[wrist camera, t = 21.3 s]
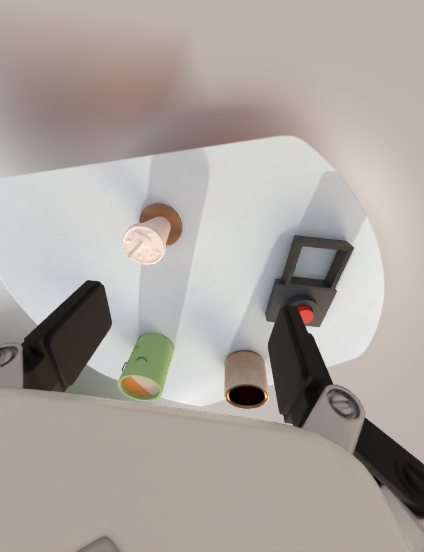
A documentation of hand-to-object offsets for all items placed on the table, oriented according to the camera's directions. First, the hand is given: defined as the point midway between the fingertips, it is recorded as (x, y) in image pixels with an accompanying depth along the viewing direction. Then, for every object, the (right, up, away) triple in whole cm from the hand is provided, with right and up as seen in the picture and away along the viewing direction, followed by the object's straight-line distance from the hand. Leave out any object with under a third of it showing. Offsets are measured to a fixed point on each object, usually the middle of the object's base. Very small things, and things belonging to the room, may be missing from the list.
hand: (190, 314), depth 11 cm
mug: (-16, -18, +47) cm, 53 cm away
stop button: (+20, -5, +33) cm, 39 cm away
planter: (+10, -22, +48) cm, 54 cm away
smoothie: (-8, +12, +29) cm, 32 cm away
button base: (+20, -3, +36) cm, 41 cm away
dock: (+21, +5, +31) cm, 37 cm away
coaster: (-9, +12, +29) cm, 32 cm away
